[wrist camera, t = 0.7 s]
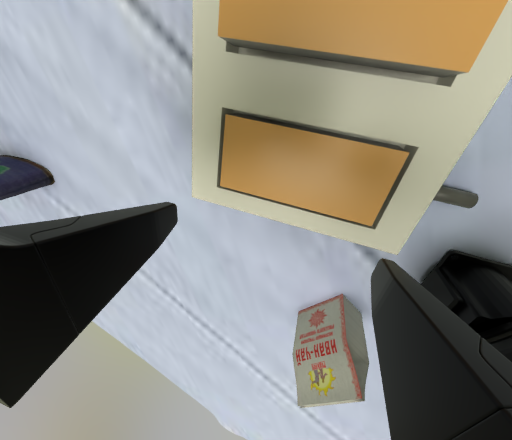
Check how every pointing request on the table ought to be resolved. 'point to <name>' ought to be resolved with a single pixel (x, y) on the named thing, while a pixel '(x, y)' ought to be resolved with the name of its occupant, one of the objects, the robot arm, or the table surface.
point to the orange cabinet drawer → (309, 167)
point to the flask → (21, 176)
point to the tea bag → (330, 354)
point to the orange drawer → (366, 31)
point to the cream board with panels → (343, 121)
